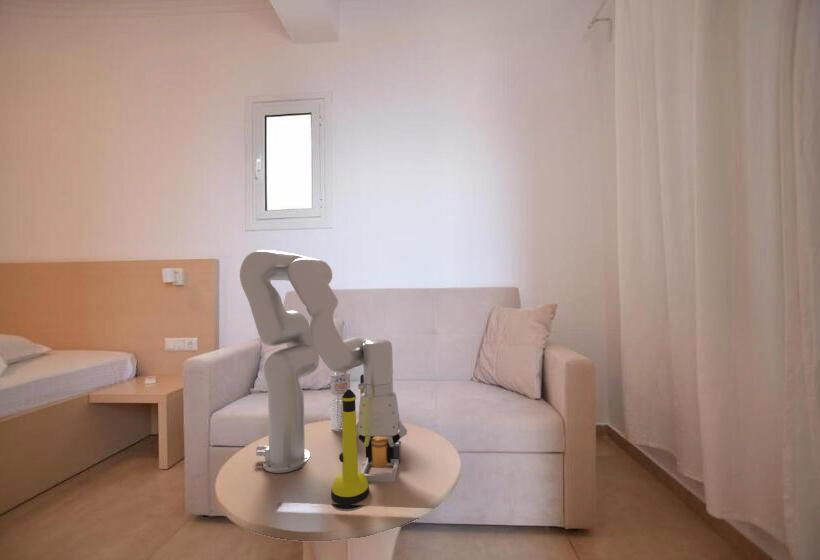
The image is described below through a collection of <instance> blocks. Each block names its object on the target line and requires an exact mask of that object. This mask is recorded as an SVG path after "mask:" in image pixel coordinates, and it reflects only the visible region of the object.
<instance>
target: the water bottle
mask: <svg viewBox="0 0 820 560" xmlns="http://www.w3.org/2000/svg"><path fill="white" fill-rule="evenodd" d="M329 376H330V378H329V379H330V394H329V396H330V397H329V398H330V408H329V409H330V430H331V431H335V432H343V401H342V396H343V395H344V393H345V392H346V391H347V390H351V369H350V370H348V371H346V372H342V373H338V372H334V371H332V370H331V369H330V368H329Z"/></svg>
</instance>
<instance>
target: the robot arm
mask: <svg viewBox="0 0 820 560" xmlns="http://www.w3.org/2000/svg"><path fill="white" fill-rule="evenodd" d="M332 279H333V270H332V268H331V266H330V265H329V264H328V263H327V262H326V261H324V260H321V259H318V258H317V259H316V258H313V257H309V256H308V257H307V256H305V255H304V256H303V255H299V254H295V253H290V252H284V251H277V250H270V249H269V250H267V249H266V250H265V249H260V250H255V251H253V252H250V253H249V254H248V255H246V256H245V257H244V259H243V261H242V263H241V265H240V270H239V281H240V284H241V288H242V290H243V292H244V294H245V296H246V299H247V301H248V304H249V306H250V309H251V314H252V317H253V320H254V323H255V326H256V329H257V333H258V335H259V340H261V341H260V342H262V343H263V345H265V346H268V347H278V346H281V345H286V346H287V347H285V348H282V349H278V350H277V351H274V352H273V353H271V354H270V355H269V356H268V357H266V359H265V362H264V364H263V373H264V379H265V383H266V389H267V407H268V408H267V409H268V411H267V412H268V416H267V417H268V445H265V444H258V445H257V446H256V450H255V451H256V452H255V455H256V457H257V456H258V457H259V456H260V457H264V459H263V461H262V468H263V469H264V470H265V471H266V472H269V473H274V474H285V473H289V472H294V471H297V470H300V469H302V468H303V467H304V466H305V465H306V464H307V462H308V461H309V460H310V458H311V452H310V451H309V450H308V449H306V448H305V447H306V444H305V441H306V440H305V436H306V435H305V396H304V391H303V389H302V386H301V383H300V379H301V378H304V377H306V376H309V375H311V374H313V373H314V372H315V371H316V370H317V369H318V368H319V365H320V358H321V359H322V361H323V362H324V363H323V364H324V365H326V367H327V368H328V369H329V370H330V369H331V370H332V371H334V372H338V373H342V372H346V371H348V370H350V371H351V370H353V369H354V368H357V367H360V366H363V367H362V368H363V374H364V382H363V383H362V384H360V383H358V385H357V386H358V387H357V388H358V389H357V390H360V389H361V390H363V393H362V394H361V397H360V396H359V398H360V399H359V404H358V418H357V419H358V420H357V421H358V422H356V435H357V438H358V439H359V440H360V442H362V443H363V446H364V447H365V458H368V463H370V462H371V461H372V455H371V437H372V436H378V437H387V438H388V442H389V443H388V447H387V460H388V463H391V459H392V458H394V444H395V443H396V442H397V441H400V439H402V438H403V437H405V436H406V435H407V434H408V430H407V427H406V426H405V425H404V423H403V422H402V421H401V420H400V412H399V403H398V397H397V392H395V391H394V373H393V371H394V370H393V369H394V367H393V366H394V365H393V364H394V363H393V361H394V360H393V345H392V342H391V341H390V340H388V339H381V338H380V339H369V338H364V337H356V336H355V337H351V338H348V339H345V340H343V338H342V337H341V335H340V334H339V332H338V329H337V327H336V325H335V321H334V313H335V311H336V309H337V307H338V305H339V299H338V298H337V296H336V295H335V293H334V291H333V289H332V288H331V286H330V283H331V282H332ZM271 281H289V283H290V284H291V286H292V288H293V289H294V291H295V292H296V295H297V297H298V298H299V299H300V301H301V303H302V304H303V307H304V308H305V310H306V311H307V314H308V315H309V318H310V319H309V320H310V322H309V321H308V319H307V317H306V316H305V315H304V314H302V313H301V312H299V311H297V310H286V309H285V307H284V303H283V301H282V297H281V295H280V293H279V291H278V290H277V289H276V288H275V287H274V285H273V284H272V282H271Z"/></svg>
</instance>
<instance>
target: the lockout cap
mask: <svg viewBox="0 0 820 560" xmlns="http://www.w3.org/2000/svg"><path fill="white" fill-rule="evenodd" d="M388 443H389V442H388V438H387V437H378V436H375V437H373V438H372V439H371V455H372V465H371V466H372V467H374V468H384V467H388V466H387V465H388V464H389V463H388V460H387V447H388Z"/></svg>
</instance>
